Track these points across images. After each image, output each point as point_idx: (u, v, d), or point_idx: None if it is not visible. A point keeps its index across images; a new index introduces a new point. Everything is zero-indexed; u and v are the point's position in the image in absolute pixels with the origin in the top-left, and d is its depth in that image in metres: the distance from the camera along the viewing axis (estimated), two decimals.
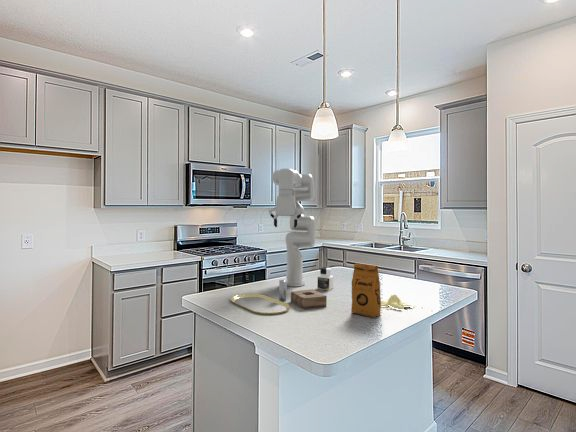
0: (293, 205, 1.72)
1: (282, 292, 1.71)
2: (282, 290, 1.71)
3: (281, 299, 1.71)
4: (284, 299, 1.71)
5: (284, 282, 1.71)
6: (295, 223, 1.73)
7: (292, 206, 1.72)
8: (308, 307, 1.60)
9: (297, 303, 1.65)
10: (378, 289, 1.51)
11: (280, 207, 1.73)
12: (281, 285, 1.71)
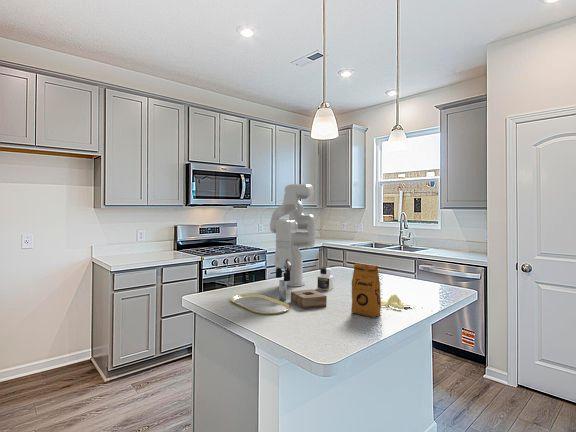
0: None
1: (282, 292, 1.71)
2: (282, 290, 1.71)
3: (281, 299, 1.71)
4: (284, 299, 1.71)
5: (284, 282, 1.71)
6: (281, 273, 1.77)
7: None
8: (308, 307, 1.60)
9: (297, 303, 1.65)
10: (378, 289, 1.51)
11: None
12: (281, 285, 1.71)
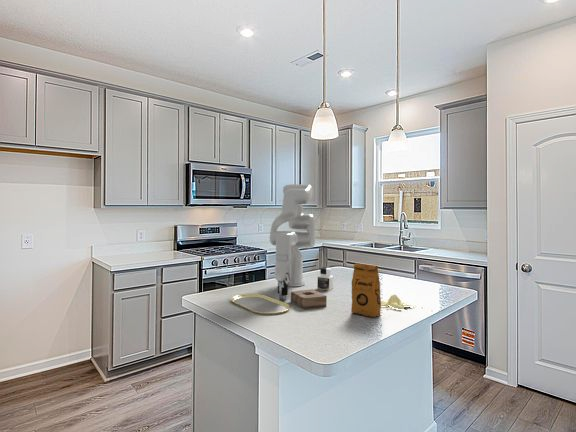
0: None
1: None
2: None
3: (281, 299, 1.71)
4: (284, 299, 1.71)
5: (284, 282, 1.71)
6: None
7: None
8: (308, 307, 1.60)
9: (297, 303, 1.65)
10: (378, 289, 1.51)
11: None
12: (281, 285, 1.71)
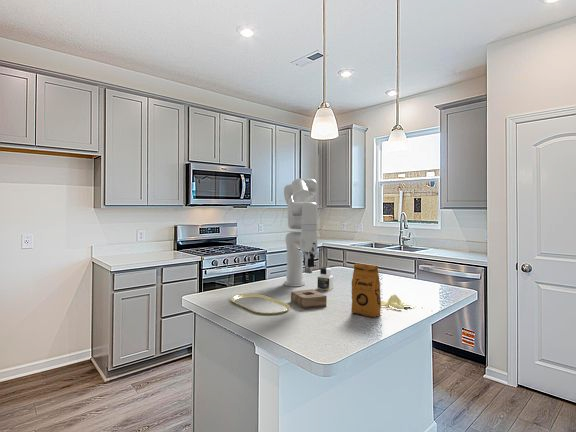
0: None
1: None
2: None
3: (307, 271, 1.65)
4: (310, 271, 1.65)
5: (310, 253, 1.65)
6: None
7: None
8: (308, 307, 1.60)
9: (297, 303, 1.65)
10: (378, 289, 1.51)
11: None
12: (307, 256, 1.65)
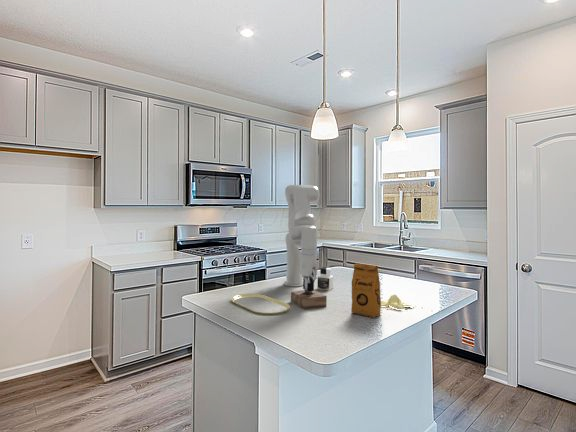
0: None
1: None
2: None
3: None
4: None
5: None
6: None
7: None
8: (308, 307, 1.60)
9: (297, 303, 1.65)
10: (378, 289, 1.51)
11: None
12: (307, 280, 1.65)
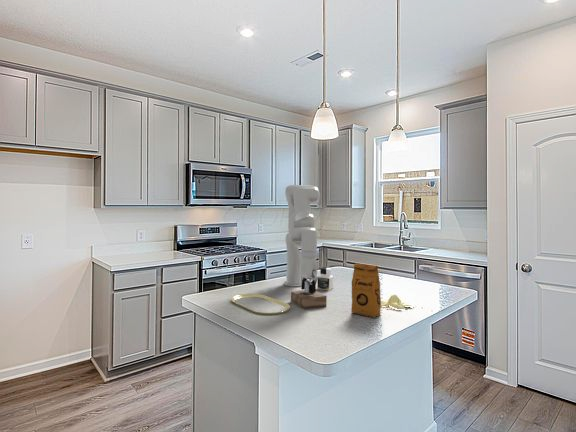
0: None
1: (308, 293, 1.66)
2: (308, 290, 1.66)
3: None
4: None
5: None
6: None
7: None
8: (308, 307, 1.60)
9: (297, 303, 1.65)
10: (378, 289, 1.51)
11: None
12: (307, 285, 1.66)
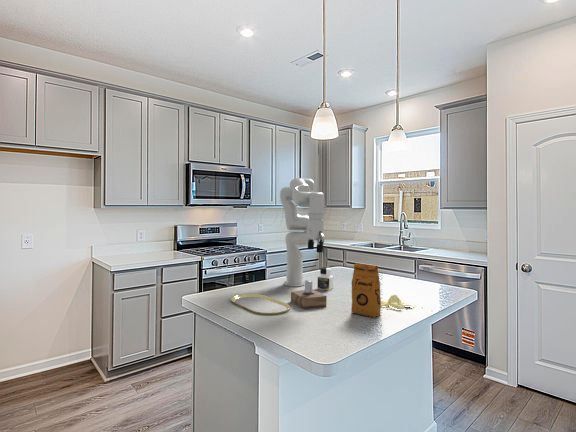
0: None
1: (308, 293, 1.66)
2: (308, 290, 1.65)
3: None
4: None
5: (310, 283, 1.66)
6: None
7: None
8: (308, 307, 1.60)
9: (297, 303, 1.65)
10: (378, 289, 1.51)
11: None
12: (307, 286, 1.66)
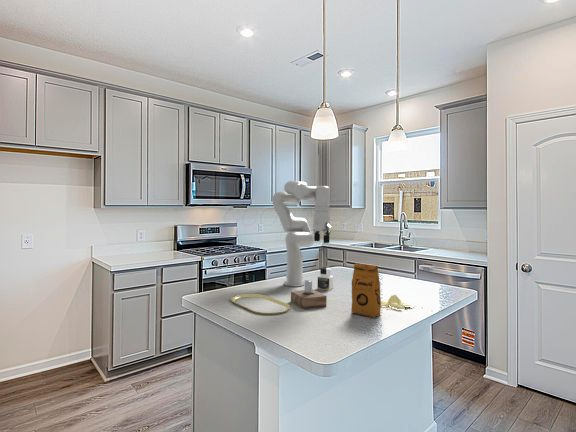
0: None
1: (308, 293, 1.66)
2: (308, 290, 1.66)
3: None
4: None
5: (310, 282, 1.66)
6: None
7: None
8: (308, 307, 1.60)
9: (297, 303, 1.65)
10: (378, 289, 1.51)
11: None
12: (307, 286, 1.66)
